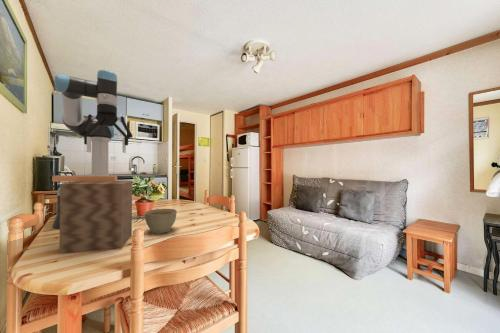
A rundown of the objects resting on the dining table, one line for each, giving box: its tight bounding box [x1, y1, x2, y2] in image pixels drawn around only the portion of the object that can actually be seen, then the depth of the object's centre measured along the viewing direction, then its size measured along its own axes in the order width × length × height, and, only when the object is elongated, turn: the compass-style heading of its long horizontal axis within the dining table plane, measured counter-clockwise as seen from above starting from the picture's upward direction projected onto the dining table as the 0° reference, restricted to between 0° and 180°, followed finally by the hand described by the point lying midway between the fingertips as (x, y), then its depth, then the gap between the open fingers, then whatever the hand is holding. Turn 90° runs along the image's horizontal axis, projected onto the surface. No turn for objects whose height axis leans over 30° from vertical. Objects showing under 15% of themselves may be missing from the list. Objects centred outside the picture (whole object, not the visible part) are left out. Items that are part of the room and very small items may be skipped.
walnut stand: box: [58, 179, 133, 255], centre depth 97 cm, size 22×18×28 cm
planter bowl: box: [144, 208, 178, 235], centre depth 116 cm, size 16×16×11 cm
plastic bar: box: [51, 174, 118, 183], centre depth 99 cm, size 24×4×2 cm, turn 107°
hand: (106, 152), depth 96 cm, fingers open, 13 cm apart
